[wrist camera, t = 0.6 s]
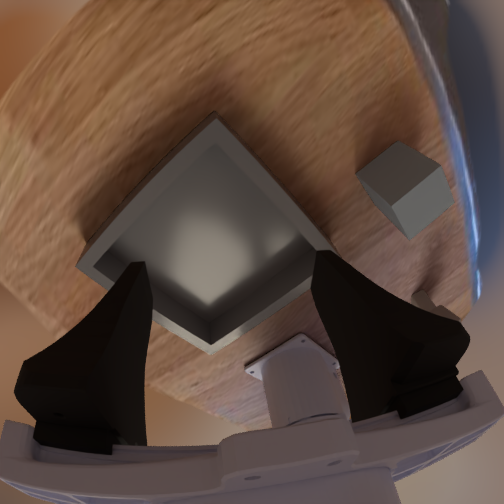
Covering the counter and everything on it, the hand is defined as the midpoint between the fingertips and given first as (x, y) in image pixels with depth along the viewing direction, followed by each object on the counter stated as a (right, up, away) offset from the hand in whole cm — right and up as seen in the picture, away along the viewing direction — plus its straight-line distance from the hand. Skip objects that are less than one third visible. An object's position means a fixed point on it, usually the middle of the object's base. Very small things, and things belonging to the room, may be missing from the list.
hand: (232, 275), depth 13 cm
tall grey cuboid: (+11, +7, +10) cm, 17 cm away
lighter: (+19, -4, +19) cm, 27 cm away
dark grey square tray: (-2, +2, +11) cm, 11 cm away
